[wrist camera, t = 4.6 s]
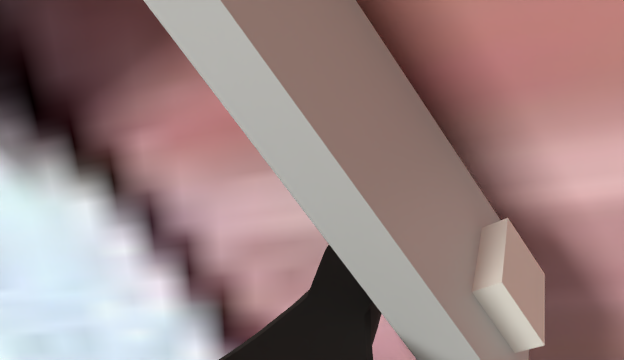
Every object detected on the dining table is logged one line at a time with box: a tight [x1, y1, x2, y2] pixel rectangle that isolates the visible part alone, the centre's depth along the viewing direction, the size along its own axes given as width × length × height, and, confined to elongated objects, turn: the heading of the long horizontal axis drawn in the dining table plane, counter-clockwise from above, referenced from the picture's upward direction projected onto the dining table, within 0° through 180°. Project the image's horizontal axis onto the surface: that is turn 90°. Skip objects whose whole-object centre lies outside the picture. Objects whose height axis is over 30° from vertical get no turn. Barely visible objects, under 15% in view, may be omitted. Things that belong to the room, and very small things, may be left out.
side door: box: [144, 0, 545, 360], centre depth 8 cm, size 10×1×3 cm, turn 38°
